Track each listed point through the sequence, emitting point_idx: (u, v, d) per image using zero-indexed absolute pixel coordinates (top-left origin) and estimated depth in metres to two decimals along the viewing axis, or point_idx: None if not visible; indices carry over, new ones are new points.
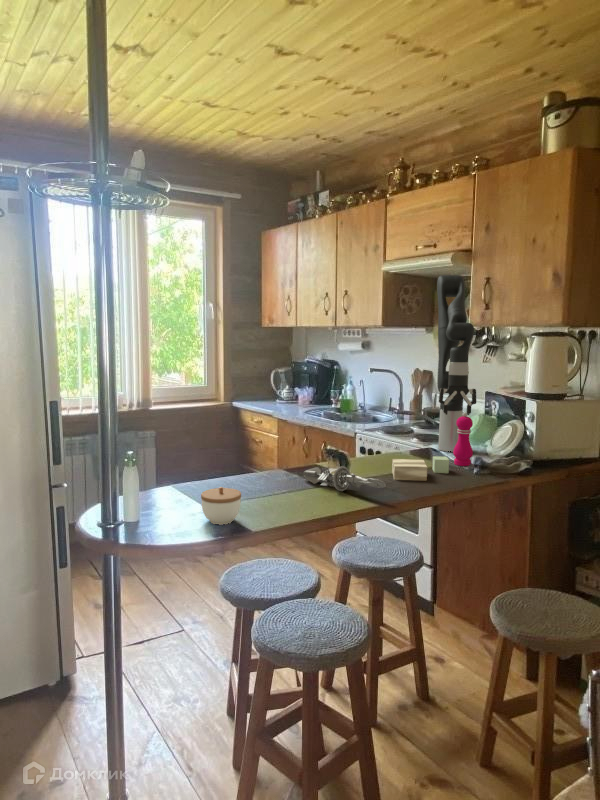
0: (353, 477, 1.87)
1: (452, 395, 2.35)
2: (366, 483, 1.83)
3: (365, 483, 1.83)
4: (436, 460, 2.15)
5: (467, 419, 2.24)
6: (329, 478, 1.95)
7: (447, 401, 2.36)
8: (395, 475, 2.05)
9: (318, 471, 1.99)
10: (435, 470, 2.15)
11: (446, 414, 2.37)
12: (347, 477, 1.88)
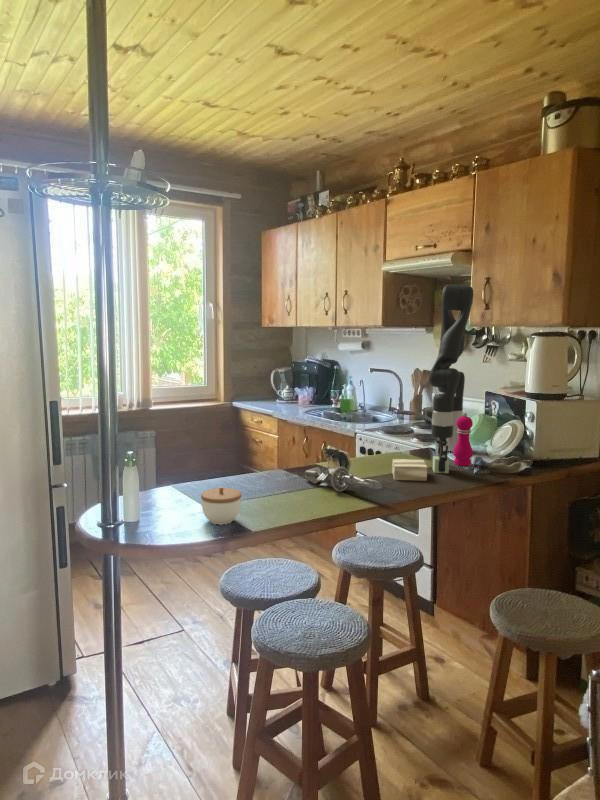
0: (351, 478, 1.86)
1: None
2: (363, 484, 1.82)
3: (362, 484, 1.82)
4: (436, 460, 2.15)
5: (467, 419, 2.24)
6: (328, 478, 1.94)
7: None
8: (395, 475, 2.05)
9: (318, 471, 1.99)
10: (435, 470, 2.15)
11: None
12: (345, 477, 1.88)
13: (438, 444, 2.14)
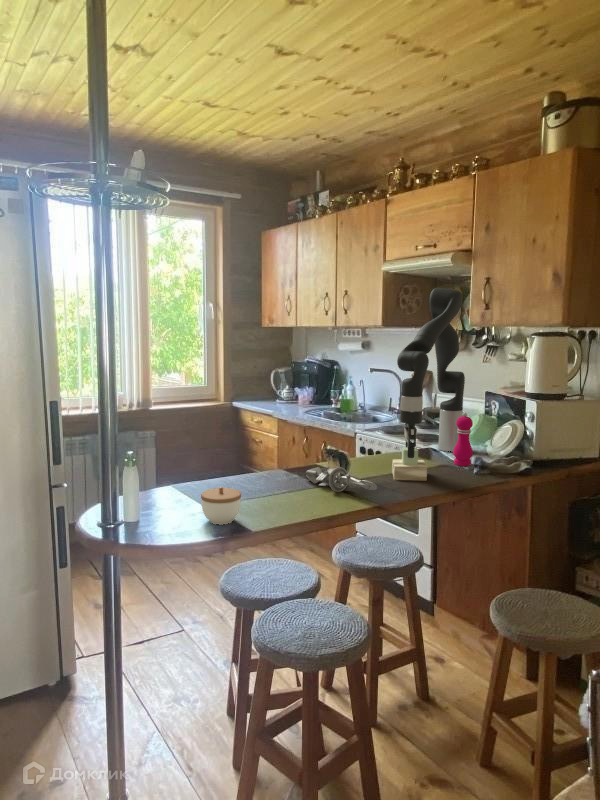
0: (348, 478, 1.85)
1: None
2: (359, 485, 1.81)
3: (358, 485, 1.81)
4: (405, 451, 2.07)
5: (467, 419, 2.24)
6: (327, 478, 1.94)
7: None
8: (395, 475, 2.05)
9: (319, 471, 1.99)
10: (404, 461, 2.08)
11: (413, 457, 2.06)
12: (342, 478, 1.87)
13: (407, 430, 2.07)
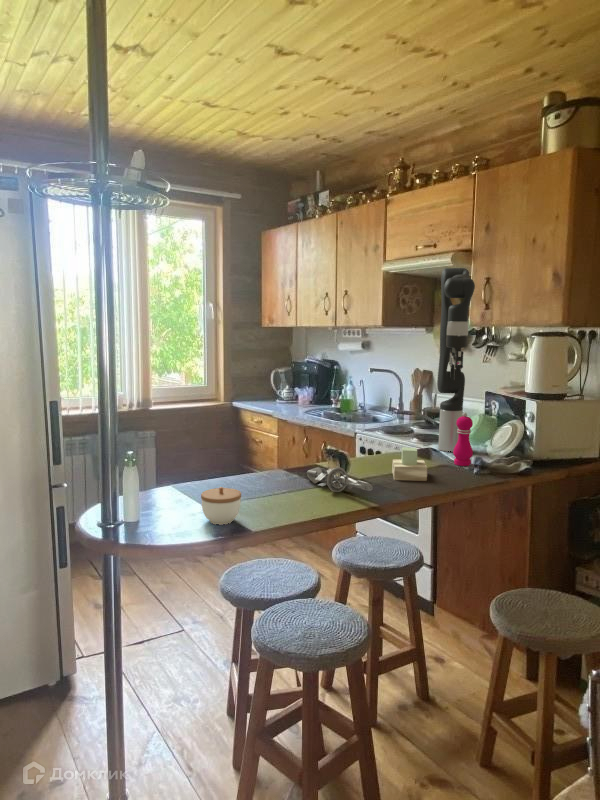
0: (345, 479, 1.85)
1: None
2: (356, 485, 1.80)
3: (355, 485, 1.81)
4: (404, 451, 2.07)
5: (467, 419, 2.24)
6: (327, 479, 1.94)
7: (461, 365, 2.15)
8: (395, 475, 2.05)
9: (319, 471, 1.99)
10: (403, 461, 2.08)
11: (459, 379, 2.15)
12: (340, 478, 1.87)
13: (453, 354, 2.16)
